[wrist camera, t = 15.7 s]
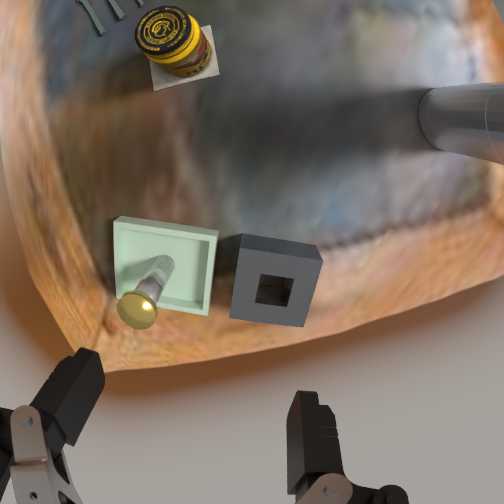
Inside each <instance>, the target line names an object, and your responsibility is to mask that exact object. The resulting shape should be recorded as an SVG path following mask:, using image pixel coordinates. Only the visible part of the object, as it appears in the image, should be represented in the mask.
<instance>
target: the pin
mask: <svg viewBox="0 0 504 504" xmlns="http://www.w3.org/2000/svg"><path fill="white" fill-rule="evenodd" d="M174 270H175V262H174V260H173V259H172V258H171V257H170V256H168V255H160V256H158V257H157V258H156V260H155V261H154V263H153V264H152V265H151V267H150V268H149V270H148V271H147V272H146V274H145V275H144V277H143V278H142V280H141V281H140V282H139V284H138V285H137V287H136V288H135V290H132V291H128V292H126V293H125V294H124V295H123V296H122V297H121V299H120V300H119V302H118V305H117V310H118V314H119V316H120V318H121V319H122V320H123V321H124V322H125V323H126V324H127V325H129V326H130V327H132V328H135V329H141V330H142V329H147V328H149V327H151V326H152V325H153V323H154V321H155V319H156V317H157V313H158V311H157V306H156V303H157V301H158V299H159V298H160V296H161V294H162V292H163V290H164V288H165V286H166V284H167V283H168V281H169V279H170V277H171V275H172V273H173V271H174Z"/></svg>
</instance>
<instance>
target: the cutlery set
mask: <svg viewBox="0 0 504 504" xmlns="http://www.w3.org/2000/svg"><path fill="white" fill-rule="evenodd" d="M109 1H110V3H111V5H112V7H113V8H114V10H115V12H116V13H117V15H118V16H119V19H121V20H122V19H123V18H125V17H126V16H125V15H124V13H123V12H122V10H121V9H120V7H119V6H118V5H117V3H116V2H115V1H114V0H109ZM138 1H139V3H140V4H141V5H140V6H141V7H143V6H145V5H146V4H145V3H144V2H143V1H142V0H138ZM77 2H82V3H83V4H84V6H85V7H86V9H87V10H88V12H89V14H90V15H91V17H92V19H93V21H94V23H95V25H96V26H97V28H98V30H99V31H100V34H102V35H104V34H105V33H106V31H105V29H104V27H103V26H102V24H101V22H100V20H99V19H98V17H97V15H96V14H95V12H94V10H93V9H92V7H91V6H90V4H89V2H88V1H87V0H77Z"/></svg>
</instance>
